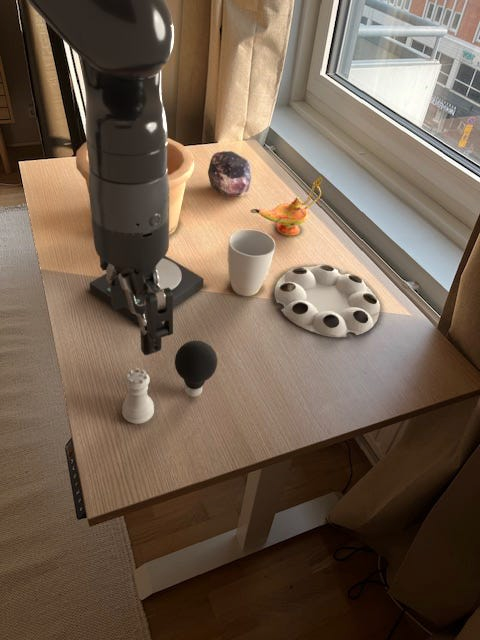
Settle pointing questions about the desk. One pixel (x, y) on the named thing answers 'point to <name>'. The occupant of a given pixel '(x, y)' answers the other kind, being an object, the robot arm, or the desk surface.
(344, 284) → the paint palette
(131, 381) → the rook chess piece
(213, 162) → the mineral specimen
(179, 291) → the scale
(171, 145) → the pottery
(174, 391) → the desk surface
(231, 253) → the cup
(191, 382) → the light bulb
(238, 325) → the desk surface
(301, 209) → the magic lamp
